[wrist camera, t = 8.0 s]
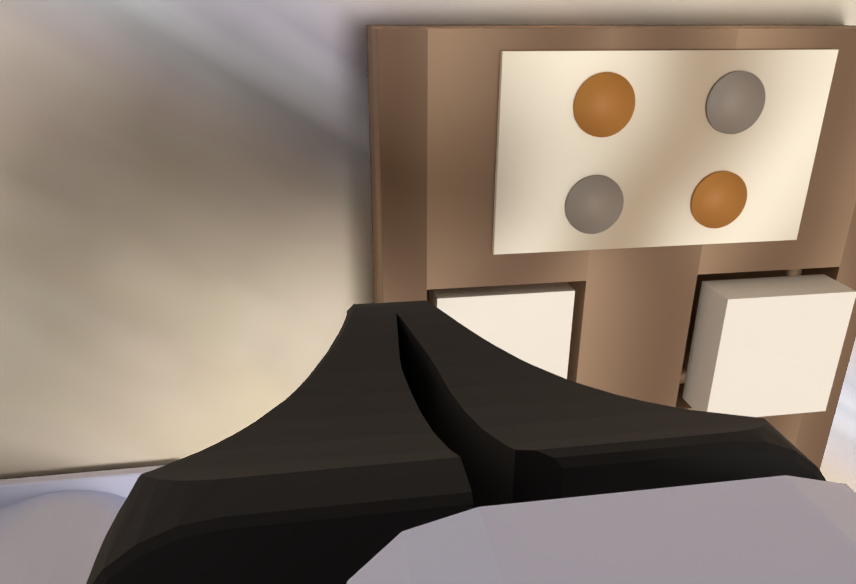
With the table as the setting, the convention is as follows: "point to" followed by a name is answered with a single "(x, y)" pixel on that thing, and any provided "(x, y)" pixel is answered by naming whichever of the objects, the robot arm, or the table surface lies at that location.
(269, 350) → the table surface
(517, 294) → the button
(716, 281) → the button
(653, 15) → the table surface
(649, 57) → the button board
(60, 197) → the table surface
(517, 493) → the robot arm
